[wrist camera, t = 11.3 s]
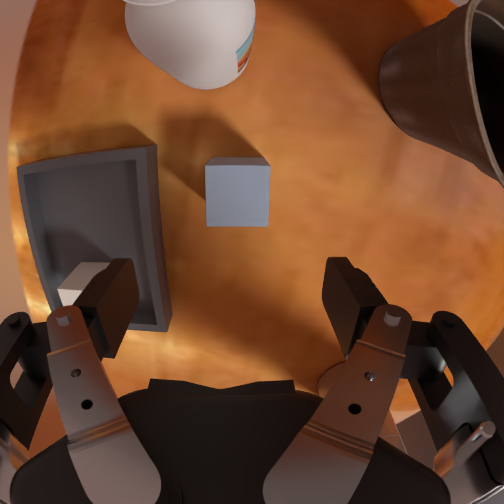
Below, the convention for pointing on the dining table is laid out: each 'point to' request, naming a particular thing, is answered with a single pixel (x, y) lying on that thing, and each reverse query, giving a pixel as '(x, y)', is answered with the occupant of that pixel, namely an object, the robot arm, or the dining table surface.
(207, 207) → the slate blue block
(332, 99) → the dining table surface
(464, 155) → the plant pot
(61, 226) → the dark grey tray
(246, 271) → the dining table surface
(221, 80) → the milk bottle
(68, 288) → the cream block
